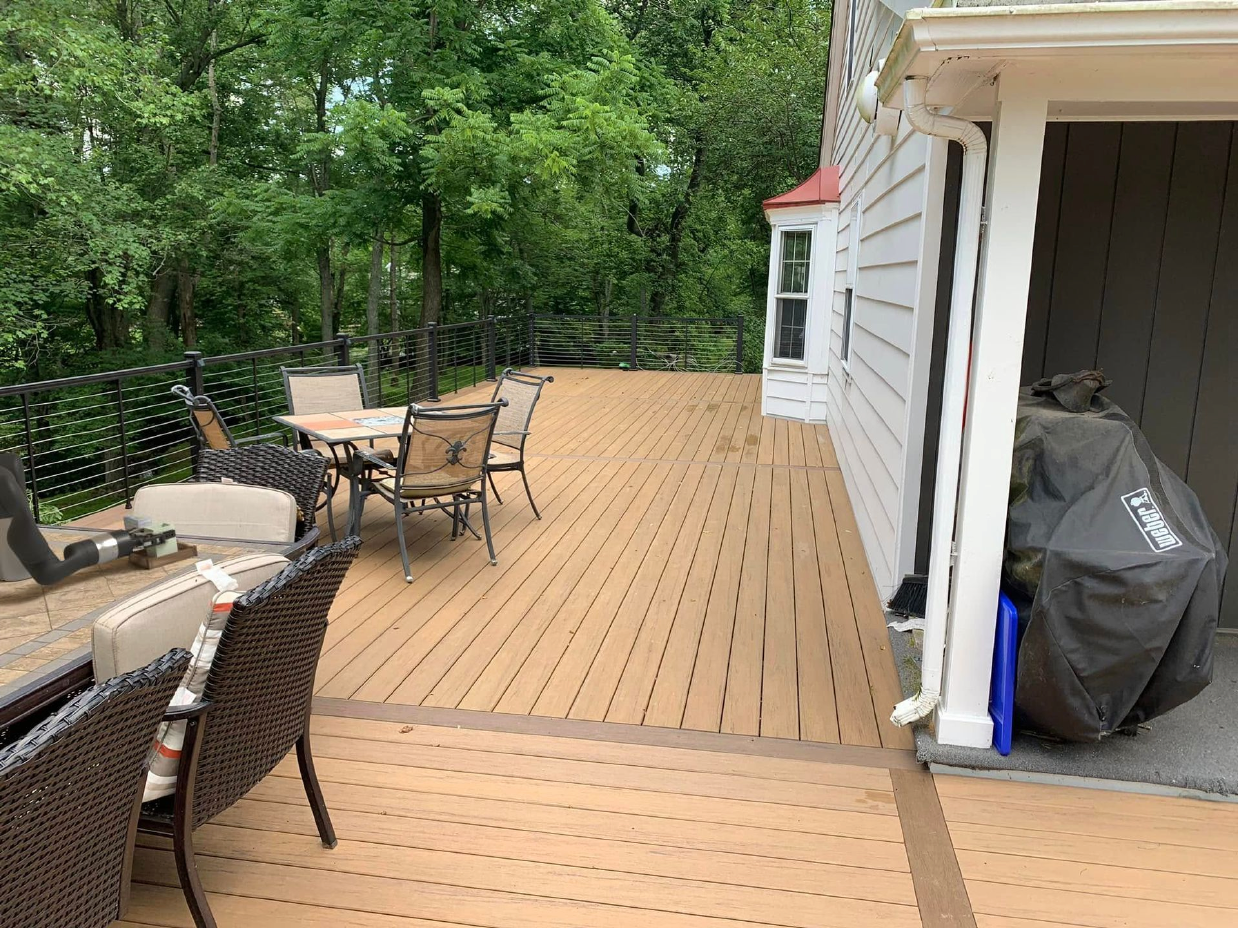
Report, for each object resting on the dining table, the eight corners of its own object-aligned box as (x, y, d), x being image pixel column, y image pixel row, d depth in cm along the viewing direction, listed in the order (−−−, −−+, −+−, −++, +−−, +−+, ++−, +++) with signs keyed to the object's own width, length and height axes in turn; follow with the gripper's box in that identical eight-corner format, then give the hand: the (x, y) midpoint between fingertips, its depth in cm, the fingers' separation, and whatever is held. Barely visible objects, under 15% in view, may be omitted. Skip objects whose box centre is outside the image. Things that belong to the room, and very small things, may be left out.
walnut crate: (129, 561, 250) (127, 551, 249) (176, 548, 260) (175, 538, 260) (149, 569, 243) (147, 559, 242) (197, 555, 254) (196, 545, 253)
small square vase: (147, 558, 251) (142, 527, 249) (169, 552, 256) (164, 521, 254) (157, 561, 248) (152, 530, 246) (178, 554, 253) (174, 524, 251)
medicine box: (156, 544, 265) (152, 516, 263) (141, 548, 261) (137, 520, 259) (141, 540, 269) (137, 512, 267) (126, 544, 266) (122, 516, 264)
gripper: (122, 537, 234) (179, 521, 247) (91, 529, 241) (148, 514, 254) (126, 564, 235) (182, 547, 249) (95, 556, 242) (152, 539, 256)
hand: (165, 530), depth 252 cm, fingers open, 8 cm apart
